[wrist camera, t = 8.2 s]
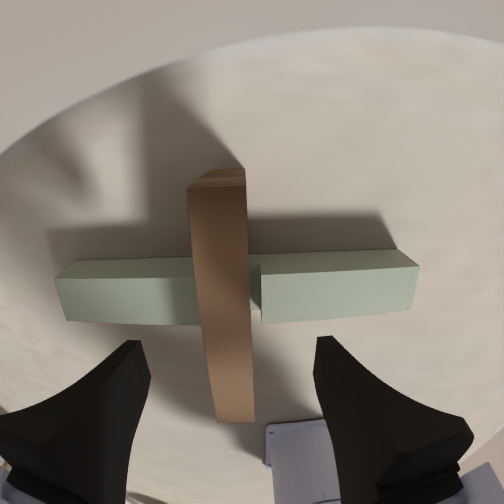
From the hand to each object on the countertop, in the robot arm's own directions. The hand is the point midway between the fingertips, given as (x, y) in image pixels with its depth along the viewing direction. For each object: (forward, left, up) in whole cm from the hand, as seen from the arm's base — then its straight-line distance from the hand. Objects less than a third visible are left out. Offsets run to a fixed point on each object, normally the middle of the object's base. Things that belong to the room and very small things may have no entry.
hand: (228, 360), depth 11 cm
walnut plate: (+1, 0, -8) cm, 8 cm away
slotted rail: (0, 0, -8) cm, 8 cm away
